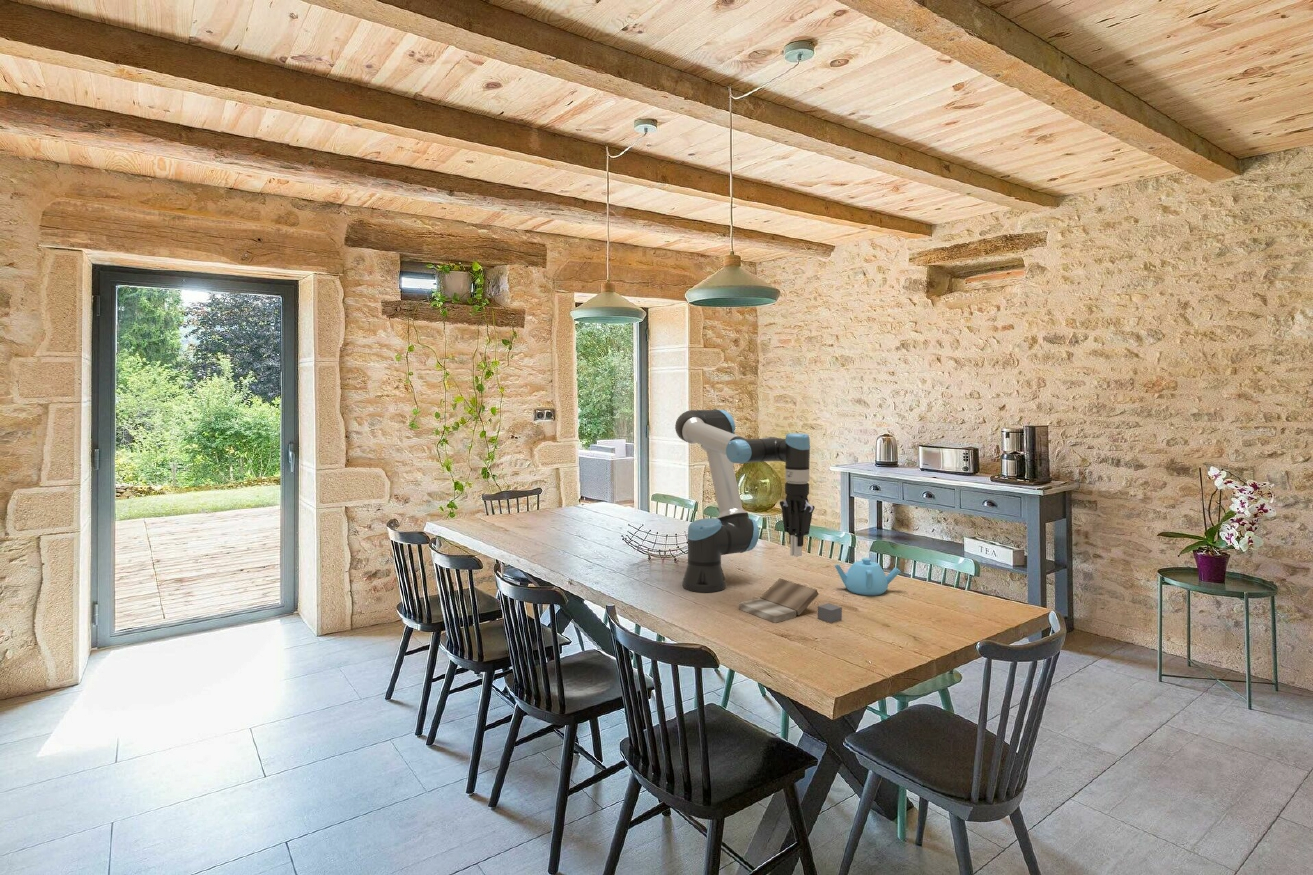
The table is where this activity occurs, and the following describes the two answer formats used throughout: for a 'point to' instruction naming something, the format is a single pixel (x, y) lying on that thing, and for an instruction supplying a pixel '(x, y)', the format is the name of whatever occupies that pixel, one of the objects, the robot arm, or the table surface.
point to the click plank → (790, 595)
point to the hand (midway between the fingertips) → (796, 555)
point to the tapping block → (829, 613)
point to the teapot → (866, 577)
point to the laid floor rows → (767, 610)
